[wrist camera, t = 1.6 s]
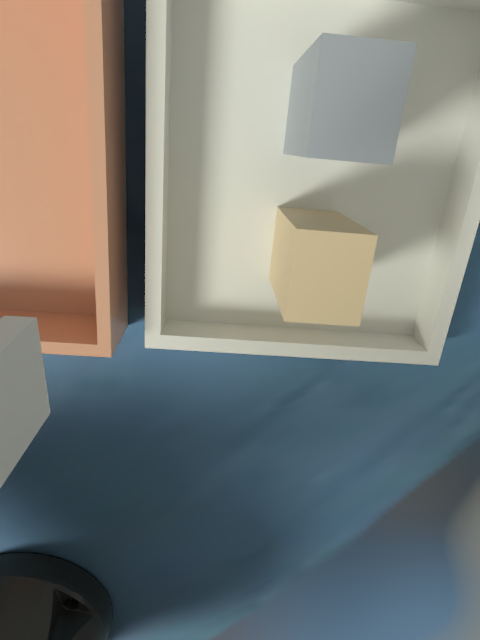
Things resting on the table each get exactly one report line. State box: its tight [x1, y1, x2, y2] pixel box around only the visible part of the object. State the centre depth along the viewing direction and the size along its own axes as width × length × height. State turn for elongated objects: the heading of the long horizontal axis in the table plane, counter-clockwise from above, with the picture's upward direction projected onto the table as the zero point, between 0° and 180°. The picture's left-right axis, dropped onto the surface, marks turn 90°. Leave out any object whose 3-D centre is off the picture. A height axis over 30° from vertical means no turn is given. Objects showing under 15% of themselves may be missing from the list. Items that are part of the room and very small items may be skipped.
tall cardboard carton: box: [269, 207, 378, 327], centre depth 25 cm, size 5×4×8 cm
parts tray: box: [145, 0, 480, 365], centre depth 27 cm, size 22×20×3 cm
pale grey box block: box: [283, 33, 417, 165], centre depth 22 cm, size 5×4×8 cm
